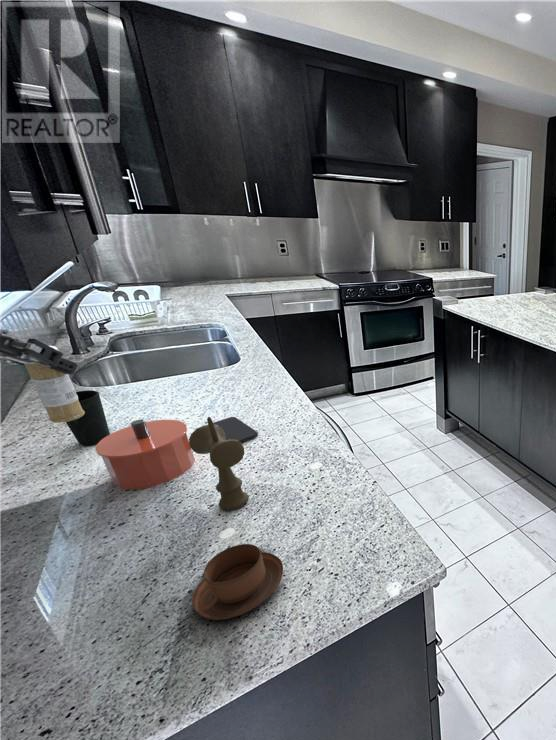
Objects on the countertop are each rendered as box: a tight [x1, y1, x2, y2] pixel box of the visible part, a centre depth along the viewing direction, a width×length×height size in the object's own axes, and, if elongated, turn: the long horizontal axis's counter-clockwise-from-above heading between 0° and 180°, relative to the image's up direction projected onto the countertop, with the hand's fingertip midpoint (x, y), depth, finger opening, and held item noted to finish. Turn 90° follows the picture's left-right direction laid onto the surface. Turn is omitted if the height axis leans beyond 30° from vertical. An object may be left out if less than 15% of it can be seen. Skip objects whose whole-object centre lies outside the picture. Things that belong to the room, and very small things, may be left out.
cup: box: [65, 389, 111, 447], centre depth 98 cm, size 8×8×12 cm
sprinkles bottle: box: [20, 345, 85, 424], centre depth 72 cm, size 5×5×14 cm
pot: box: [101, 432, 196, 491], centre depth 87 cm, size 14×14×10 cm
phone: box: [213, 416, 259, 443], centre depth 106 cm, size 7×1×15 cm
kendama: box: [188, 416, 250, 511], centre depth 78 cm, size 6×10×20 cm, turn 55°
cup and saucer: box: [191, 543, 284, 621], centre depth 63 cm, size 12×12×6 cm
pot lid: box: [94, 419, 188, 458], centre depth 84 cm, size 15×15×5 cm
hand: (59, 368), depth 72 cm, fingers closed on sprinkles bottle, 4 cm apart
